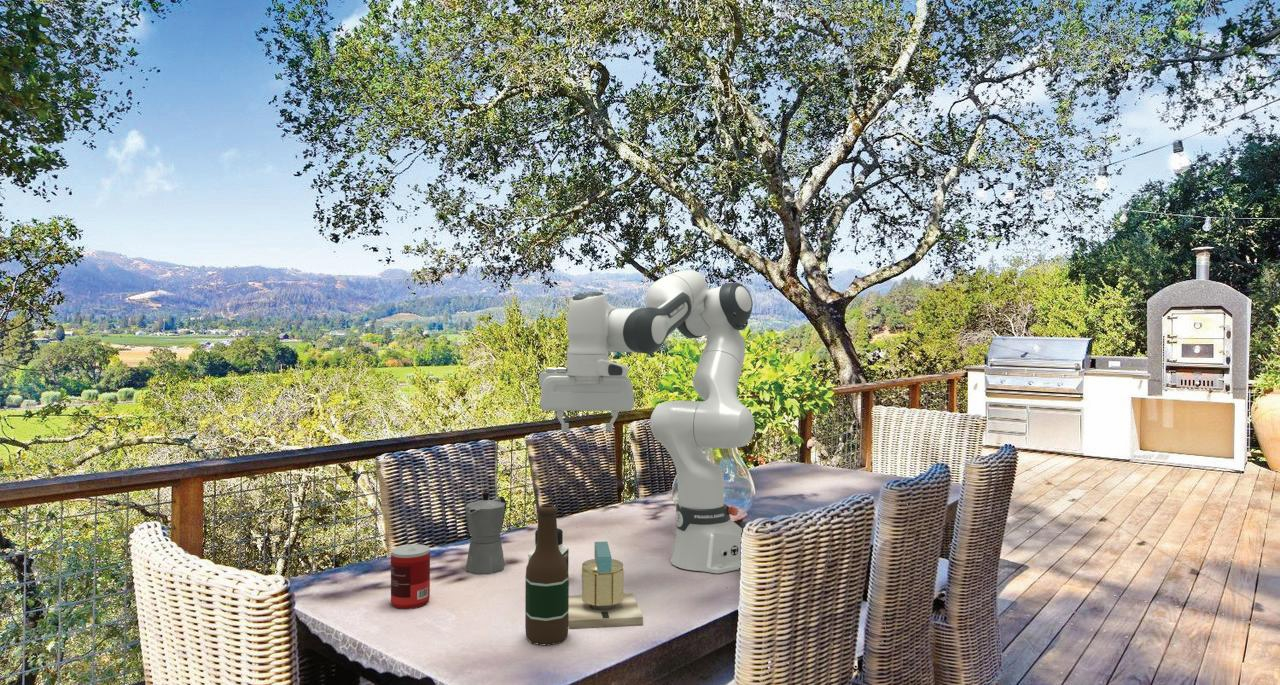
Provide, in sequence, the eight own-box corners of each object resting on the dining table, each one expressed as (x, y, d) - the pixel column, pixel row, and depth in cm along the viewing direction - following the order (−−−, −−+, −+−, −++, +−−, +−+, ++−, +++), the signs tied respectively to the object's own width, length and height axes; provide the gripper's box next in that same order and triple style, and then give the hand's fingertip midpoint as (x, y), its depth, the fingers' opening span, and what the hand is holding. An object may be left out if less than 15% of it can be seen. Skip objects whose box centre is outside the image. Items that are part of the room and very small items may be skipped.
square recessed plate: (564, 603, 162) (565, 571, 162) (632, 600, 164) (632, 568, 164) (568, 628, 148) (569, 593, 148) (642, 624, 151) (643, 590, 150)
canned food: (431, 595, 167) (431, 543, 167) (427, 608, 159) (428, 553, 159) (393, 597, 165) (393, 544, 165) (388, 610, 158) (388, 555, 157)
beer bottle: (568, 645, 140) (568, 510, 140) (523, 646, 140) (524, 511, 140) (568, 629, 148) (569, 501, 148) (526, 630, 148) (527, 501, 147)
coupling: (583, 608, 150) (583, 557, 150) (581, 590, 161) (581, 542, 161) (625, 607, 151) (625, 556, 151) (620, 588, 162) (620, 541, 162)
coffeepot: (487, 579, 178) (488, 499, 178) (452, 574, 181) (452, 495, 181) (521, 560, 192) (522, 486, 192) (488, 556, 195) (488, 484, 195)
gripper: (537, 367, 167) (537, 433, 167) (635, 368, 168) (634, 433, 168) (539, 366, 173) (539, 430, 173) (633, 367, 174) (633, 429, 174)
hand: (587, 431), depth 170 cm, fingers open, 8 cm apart
